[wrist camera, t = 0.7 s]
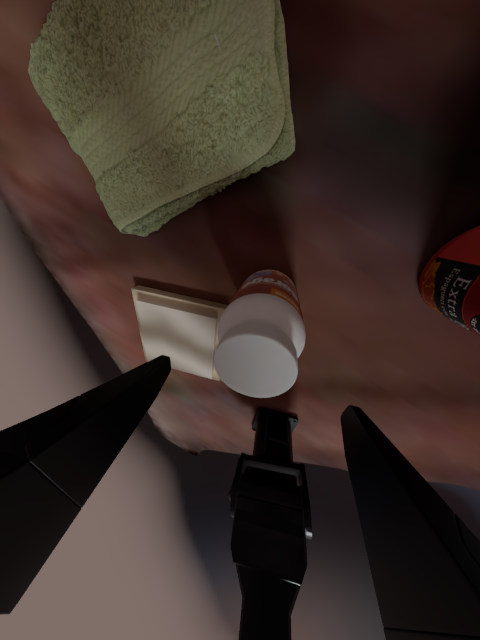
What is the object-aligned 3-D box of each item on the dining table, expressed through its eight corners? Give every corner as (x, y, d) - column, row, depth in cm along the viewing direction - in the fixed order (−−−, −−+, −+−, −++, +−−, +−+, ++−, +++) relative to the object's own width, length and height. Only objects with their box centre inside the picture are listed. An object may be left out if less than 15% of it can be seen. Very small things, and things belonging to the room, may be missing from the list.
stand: (221, 375, 26) (217, 385, 24) (150, 356, 28) (142, 364, 26) (230, 305, 20) (225, 312, 18) (138, 285, 21) (126, 290, 20)
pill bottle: (305, 274, 17) (337, 338, 7) (287, 326, 20) (294, 418, 10) (244, 263, 17) (201, 307, 8) (236, 314, 21) (199, 391, 11)
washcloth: (302, 157, 13) (308, 139, 10) (140, 242, 19) (116, 245, 16) (245, -179, 8) (227, -388, 5) (48, 80, 14) (-9, 44, 11)
